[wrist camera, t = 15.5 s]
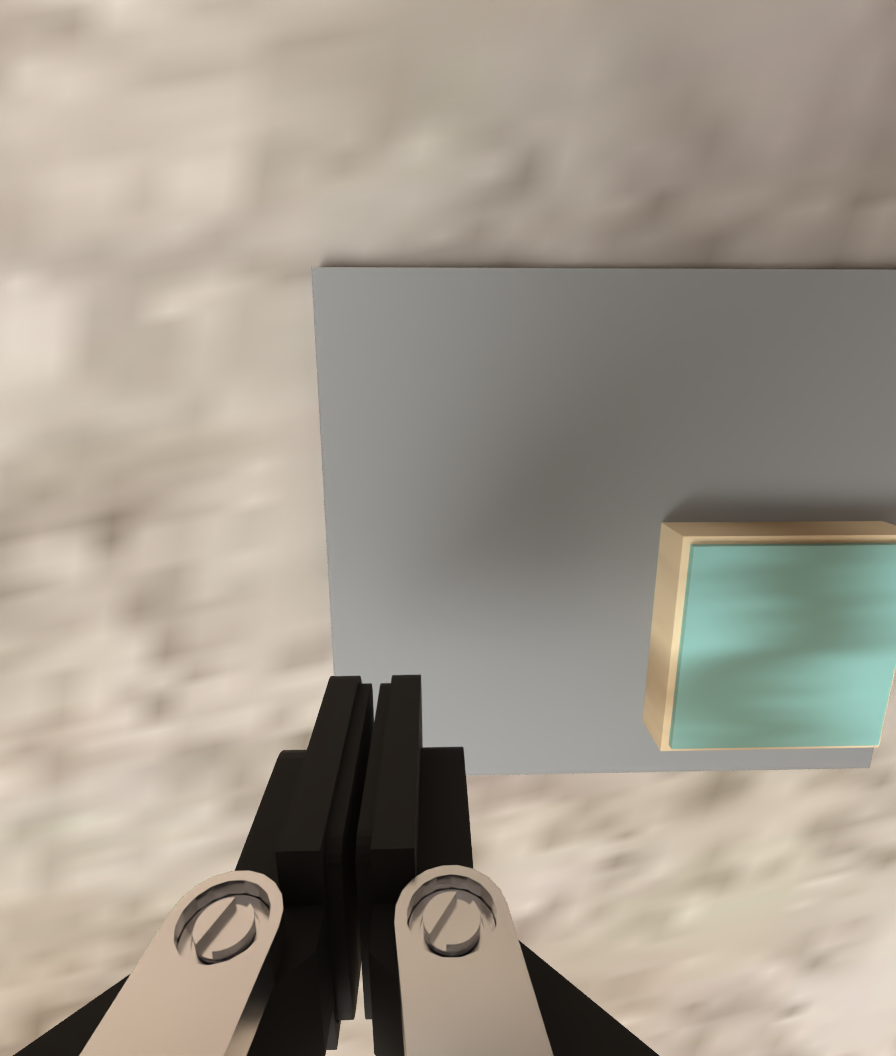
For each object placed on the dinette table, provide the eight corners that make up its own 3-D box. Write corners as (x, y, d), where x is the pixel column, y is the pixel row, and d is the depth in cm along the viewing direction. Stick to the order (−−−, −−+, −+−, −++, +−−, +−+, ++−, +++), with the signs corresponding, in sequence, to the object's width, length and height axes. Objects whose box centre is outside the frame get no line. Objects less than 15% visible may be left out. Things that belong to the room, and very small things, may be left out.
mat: (316, 271, 14) (311, 267, 14) (953, 273, 15) (975, 269, 14) (342, 764, 18) (339, 777, 17) (856, 755, 18) (869, 768, 18)
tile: (663, 755, 16) (686, 538, 14) (642, 721, 17) (661, 522, 16) (884, 751, 16) (931, 537, 14) (843, 717, 17) (881, 520, 16)
